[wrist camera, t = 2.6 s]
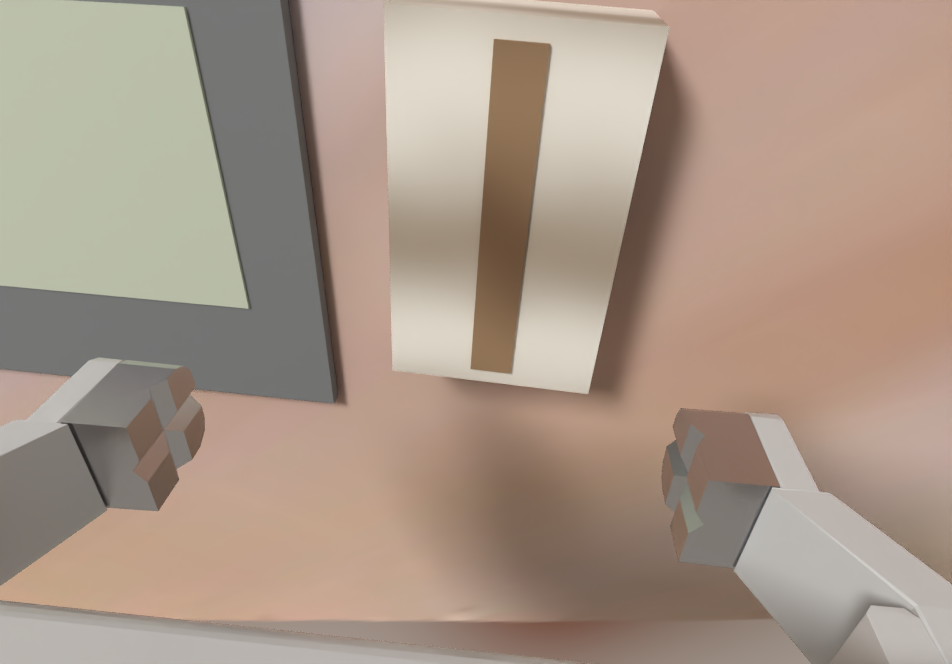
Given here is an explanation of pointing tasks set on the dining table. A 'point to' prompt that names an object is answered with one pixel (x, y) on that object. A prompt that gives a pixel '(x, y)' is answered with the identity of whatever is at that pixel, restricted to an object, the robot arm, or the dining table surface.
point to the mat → (159, 194)
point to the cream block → (511, 180)
